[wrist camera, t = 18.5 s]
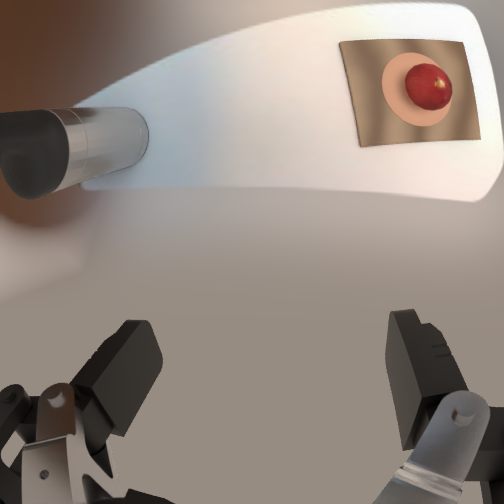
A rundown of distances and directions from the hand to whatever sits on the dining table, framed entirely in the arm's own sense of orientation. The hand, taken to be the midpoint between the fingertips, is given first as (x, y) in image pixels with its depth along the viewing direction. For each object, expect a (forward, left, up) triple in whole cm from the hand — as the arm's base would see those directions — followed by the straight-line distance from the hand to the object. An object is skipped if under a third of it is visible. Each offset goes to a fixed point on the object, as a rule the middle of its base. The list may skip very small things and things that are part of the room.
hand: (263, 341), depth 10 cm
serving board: (+12, +16, -33) cm, 39 cm away
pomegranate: (+12, +16, -32) cm, 38 cm away
